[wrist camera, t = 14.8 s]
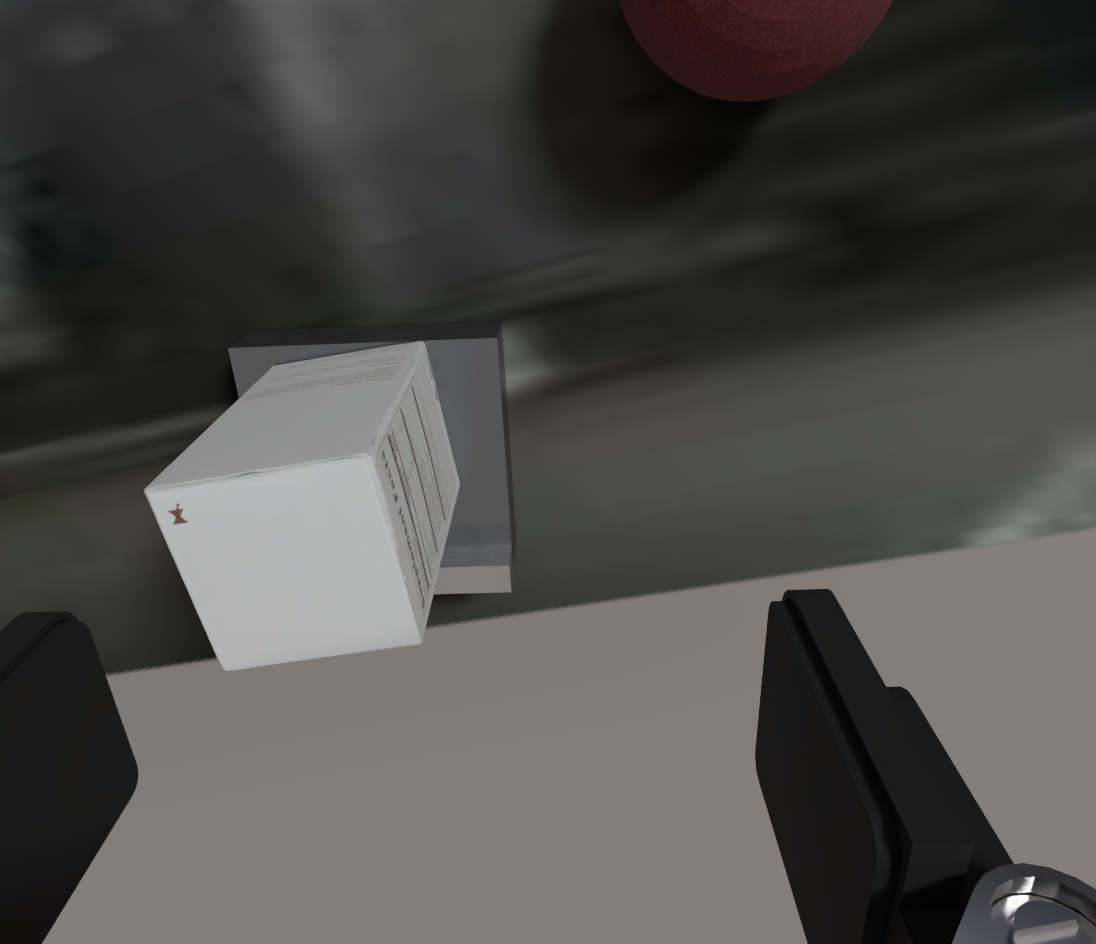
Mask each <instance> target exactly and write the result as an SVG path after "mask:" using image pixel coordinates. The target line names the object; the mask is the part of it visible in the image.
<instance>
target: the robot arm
mask: <svg viewBox="0 0 1096 944" xmlns="http://www.w3.org/2000/svg"><path fill="white" fill-rule="evenodd" d="M755 757H756V758H755V759H756V770H757V775H758V779H759V783H760V786H761V790H762V793H763V796H764V800H765V803H766V806H767V809H768V813H769V816H770V820H771V823H772V826H773V830H774V833H775V836H776V840H777V843H778V846H779V849H780V853H781V856H782V859H783V863H784V866H785V869H786V873H787V876H788V880H789V883H790V886H791V889H792V893H793V896H794V899H795V903H796V906H797V910H798V913H799V916H800V919H801V923H802V926H803V930H804V933H805V936H806V940H807V943H808V944H1096V889H1094V888H1093V887H1091V886H1089V885H1088V884H1086V883H1084V882H1082V881H1081V880H1079V879H1077V878H1075V877H1073V876H1070V875H1068V874H1065V873H1062V872H1060V871H1057V870H1054V869H1052V868H1049V867H1043V866H1037V865H1031V864H1025V863H1021V864H1014V863H1013V862H1012V860H1011V858H1010V857H1009V855H1008V853H1007V852H1006V850H1005V848H1004V847H1003V845H1002V843H1001V842H1000V840H999V839H998V837H997V835H996V833H995V832H994V830H993V829H992V827H991V825H990V824H989V822H988V820H987V819H986V817H985V815H984V814H983V812H982V810H981V809H980V807H979V805H978V804H977V802H976V800H975V799H974V797H973V795H972V794H971V792H970V790H969V789H968V787H967V786H966V784H965V782H964V780H963V779H962V777H961V775H960V774H959V772H958V771H957V769H956V767H955V766H954V764H953V762H952V761H951V759H950V757H949V756H948V754H947V752H946V751H945V749H944V747H943V746H942V744H941V742H940V741H939V739H938V737H937V736H936V734H935V733H934V731H933V729H932V727H931V726H930V724H929V723H928V721H927V719H926V717H925V716H924V714H923V713H922V711H921V709H920V708H919V706H918V704H917V703H916V701H915V699H914V698H913V697H912V695H911V694H910V693H909V692H908V691H907V690H906V689H904V688H902V687H886V686H885V684H884V682H883V680H882V679H881V677H880V675H879V674H878V671H877V670H876V668H875V666H874V665H873V663H872V661H871V659H870V657H869V656H868V654H867V652H866V650H865V649H864V647H863V645H862V643H861V642H860V640H859V638H858V636H857V634H856V633H855V631H854V629H853V627H852V626H851V624H850V622H849V621H848V619H847V617H846V615H845V613H844V612H843V610H842V608H841V606H840V605H839V603H838V601H837V599H836V597H835V596H834V594H833V593H832V592H831V590H829V589H812V590H811V589H809V590H787V591H786V592H785V593H784V595H783V599H782V601H772V602H771V603H770V606H769V612H768V622H767V633H766V643H765V654H764V665H763V676H762V686H761V697H760V707H759V719H758V729H757V740H756V751H755ZM137 780H138V768H137V763H136V761H135V758H134V755H133V752H132V749H131V746H130V744H129V741H128V738H127V735H126V732H125V729H124V727H123V724H122V721H121V718H120V715H119V712H118V710H117V707H116V704H115V701H114V698H113V695H112V692H111V689H110V687H109V684H108V681H107V678H106V675H105V672H104V670H103V667H102V664H101V661H100V658H99V655H98V652H97V650H96V647H95V644H94V641H93V638H92V635H91V632H90V630H89V628H88V626H87V625H86V624H85V623H83V622H78V620H77V618H76V617H75V616H74V615H73V614H72V613H69V612H66V611H60V612H27V613H23V614H20V615H18V616H17V617H16V618H14V619H13V620H12V621H11V622H10V623H9V624H8V625H7V626H6V627H5V628H4V629H3V630H1V631H0V944H42V942H43V941H44V939H45V938H46V936H47V934H48V933H49V931H50V929H51V928H52V926H53V924H54V923H55V921H56V919H57V918H58V916H59V915H60V913H61V911H62V910H63V908H64V907H65V905H66V903H67V902H68V900H69V898H70V897H71V895H72V893H73V892H74V890H75V889H76V887H77V885H78V884H79V882H80V880H81V879H82V877H83V875H84V874H85V872H86V871H87V869H88V867H89V866H90V864H91V862H92V860H93V859H94V858H95V856H96V854H97V852H98V851H99V849H100V848H101V846H102V844H103V843H104V841H105V840H106V838H107V836H108V835H109V833H110V831H111V830H112V828H113V826H114V825H115V823H116V822H117V820H118V818H119V817H120V815H121V813H122V812H123V810H124V809H125V807H126V805H127V804H128V802H129V800H130V799H131V797H132V795H133V793H134V791H135V788H136V785H137Z"/></svg>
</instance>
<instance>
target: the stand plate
mask: <svg viewBox="0 0 1096 944" xmlns="http://www.w3.org/2000/svg"><path fill="white" fill-rule="evenodd" d="M417 341H423V342H425V345H426V349H427V353H428V357H429V362H430V366H431V369H432V373H433V378H434V381H435V385H436V389H437V394H438V398H439V402H440V406H441V410H442V414H443V418H444V422H445V426H446V430H447V434H448V438H449V442H450V446H451V450H452V454H453V458H454V462H455V466H456V470H457V474H458V477H459V480H460V486H459V491H458V495H457V499H456V503H455V507H454V511H453V515H452V519H451V524H450V527H449V532H448V536H447V539H446V543H445V548H444V552H443V556H442V559H441V563H440V568H439V573H438V577H437V581H436V586H435V590H434V594H464V593H498V592H511V590H512V579H513V568H514V557H515V546H516V532H515V517H514V503H513V488H512V473H511V458H510V443H509V428H508V413H507V398H506V383H505V368H504V353H503V338H502V323H501V321H485V322H459V323H433V324H407V325H381V326H355V327H329V328H303V329H277V330H252V331H250V332H249V333H248V334H246V335H245V336H243V337H242V338H241V339H239V340H238V341H237V342H235V343H234V344H233V345H231V346H230V347H229V348H228V351H229V355H230V360H231V364H232V369H233V373H234V378H235V382H236V387H237V392H238V396H239V398H240V397H241V396H243V395H244V394H245V393H246V392H247V391H248V390H249V389H250V388H251V387H252V386H253V385H254V384H255V383H256V382H257V381H258V380H259V379H260V378H261V377H262V376H263V375H265V374H266V373H267V372H268V371H269V370H270V369H271V367H272V366H276V365H282V364H288V363H294V362H299V361H305V360H311V359H316V358H322V357H328V356H333V355H339V354H345V353H351V352H356V351H362V350H368V349H374V348H380V347H385V346H391V345H398V344H405V343H412V342H417Z"/></svg>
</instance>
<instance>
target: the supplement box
mask: <svg viewBox="0 0 1096 944" xmlns="http://www.w3.org/2000/svg"><path fill="white" fill-rule="evenodd" d="M459 486H460V480H459V477H458V474H457V470H456V466H455V462H454V458H453V454H452V450H451V446H450V442H449V438H448V434H447V430H446V426H445V422H444V418H443V414H442V410H441V406H440V402H439V398H438V394H437V389H436V385H435V381H434V378H433V373H432V369H431V366H430V362H429V357H428V353H427V349H426V345H425V342H423V341H417V342H412V343H405V344H398V345H391V346H385V347H380V348H374V349H368V350H362V351H356V352H351V353H345V354H339V355H333V356H328V357H322V358H316V359H311V360H305V361H299V362H294V363H288V364H282V365H276V366H272V367H271V369H270V370H269V371H268V372H267V373H266V374H265V375H263V376H262V377H261V378H260V379H259V380H258V381H257V382H256V383H255V384H254V385H253V386H252V387H251V388H250V389H249V390H248V391H247V392H246V393H245V394H244V395H243V396H241V397H240V398H239V399H238V400H237V401H236V402H235V403H234V404H233V405H232V406H231V407H230V408H229V409H228V410H227V411H226V412H225V413H223V414H222V415H221V416H220V417H219V418H218V419H217V420H216V421H215V422H214V423H213V424H212V425H211V426H210V427H209V428H208V429H207V430H206V431H205V432H204V433H203V434H202V435H201V436H200V437H198V438H197V439H196V440H195V441H194V442H193V443H192V444H191V445H190V446H189V447H188V448H187V449H186V450H185V451H184V452H183V453H182V454H181V455H180V456H179V457H178V458H176V459H175V460H174V461H173V462H172V463H171V464H170V465H169V466H168V467H167V468H166V469H165V470H164V471H163V472H162V473H161V474H160V475H159V476H158V477H157V478H155V479H154V480H153V481H152V482H151V483H150V484H149V485H148V486H147V487H146V488H145V490H144V493H145V495H146V497H147V499H148V501H149V504H150V506H151V508H152V510H153V512H154V514H155V517H156V519H157V522H158V524H159V526H160V529H161V531H162V533H163V536H164V538H165V540H166V543H167V545H168V547H169V549H170V552H171V554H172V556H173V558H174V561H175V563H176V565H177V567H178V570H179V572H180V574H181V577H182V579H183V581H184V583H185V586H186V588H187V590H188V592H189V595H190V597H191V599H192V602H193V604H194V606H195V609H196V611H197V613H198V615H199V618H200V620H201V622H202V624H203V627H204V629H205V631H206V633H207V636H208V638H209V640H210V642H211V645H212V647H213V650H214V652H215V654H216V656H217V658H218V660H219V662H220V664H221V666H222V668H223V669H224V670H225V671H235V670H241V669H248V668H254V667H261V666H268V665H275V664H282V663H289V662H296V661H303V660H309V659H318V658H325V657H332V656H338V655H346V654H353V653H359V652H366V651H374V650H382V649H389V648H396V647H403V646H411V645H419V644H421V643H422V641H423V637H424V633H425V628H426V624H427V619H428V615H429V611H430V607H431V603H432V599H433V595H434V590H435V586H436V581H437V577H438V573H439V568H440V563H441V559H442V556H443V552H444V548H445V543H446V539H447V536H448V532H449V527H450V524H451V519H452V515H453V511H454V507H455V503H456V499H457V495H458V491H459Z"/></svg>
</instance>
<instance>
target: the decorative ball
mask: <svg viewBox="0 0 1096 944" xmlns="http://www.w3.org/2000/svg"><path fill="white" fill-rule="evenodd" d="M892 1H893V0H620V3H621V7H622V10H623V14H624V16H625V18H626V20H627V22H628V24H629V26H630V28H631V30H632V32H633V34H634V36H635V38H636V41H637V42H638V43H639V45H640V46H641V47H642V48H643V50H644V51H645V52H646V54H647V55H648V56H649V58H650V59H651V60H652V61H653V63H654V64H656V65H657V66H658V67H659V68H660V69H662V70H663V71H664V72H665V73H666V74H667V75H669V76H670V77H671V78H672V79H673V80H675V81H676V82H678V83H680V84H681V85H683V86H685V87H687V88H689V89H691V90H693V91H695V92H697V93H698V94H701V95H705V96H709V97H713V98H716V99H720V100H724V101H741V102H754V101H760V100H766V99H771V98H777V97H780V96H783V95H786V94H788V93H791V92H793V91H796V90H798V89H801V88H803V87H806V86H808V85H810V84H812V83H814V82H815V81H817V80H819V79H820V78H822V77H823V76H825V75H827V74H828V73H830V72H831V71H833V70H835V69H836V68H838V67H839V66H840V65H841V64H842V63H843V62H844V61H845V60H847V59H848V58H849V57H850V56H851V55H852V54H853V53H854V52H855V51H856V50H858V49H859V48H860V47H861V46H862V44H863V43H864V42H865V41H866V39H867V38H868V37H869V36H870V34H871V33H872V32H873V31H874V29H875V28H876V27H877V25H878V24H879V23H880V22H881V20H882V19H883V17H884V15H885V13H886V11H887V10H888V8H889V6H890V4H891V2H892Z"/></svg>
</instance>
